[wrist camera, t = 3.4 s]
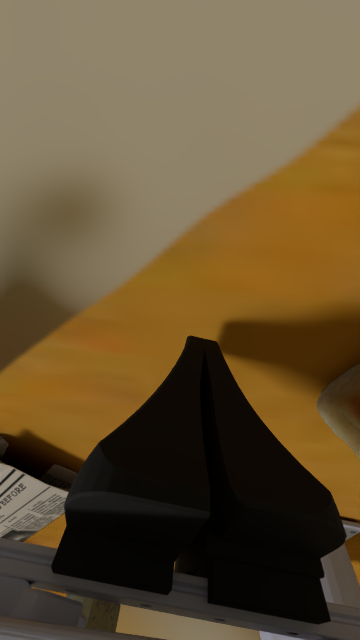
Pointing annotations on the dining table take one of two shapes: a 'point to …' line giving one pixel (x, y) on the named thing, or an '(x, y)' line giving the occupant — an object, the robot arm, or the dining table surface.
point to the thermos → (98, 613)
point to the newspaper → (30, 498)
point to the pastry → (343, 407)
